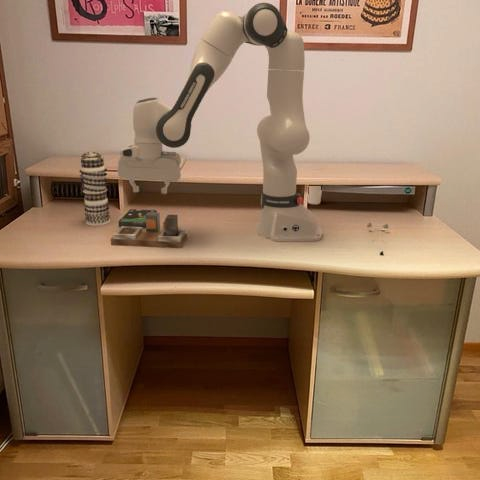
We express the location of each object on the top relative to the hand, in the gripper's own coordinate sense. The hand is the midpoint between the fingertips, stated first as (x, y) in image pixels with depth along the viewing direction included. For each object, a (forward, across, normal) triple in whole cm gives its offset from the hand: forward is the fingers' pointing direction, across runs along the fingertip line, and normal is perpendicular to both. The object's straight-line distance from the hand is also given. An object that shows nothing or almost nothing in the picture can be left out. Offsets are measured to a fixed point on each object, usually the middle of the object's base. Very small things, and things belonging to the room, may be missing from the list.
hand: (150, 192), depth 157 cm
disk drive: (+15, +8, -12) cm, 21 cm away
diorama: (+14, -76, -4) cm, 78 cm away
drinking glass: (+13, -57, -45) cm, 74 cm away
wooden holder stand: (+14, -2, +8) cm, 16 cm away
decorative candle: (+15, +22, -9) cm, 28 cm away
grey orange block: (+14, -1, 0) cm, 14 cm away
